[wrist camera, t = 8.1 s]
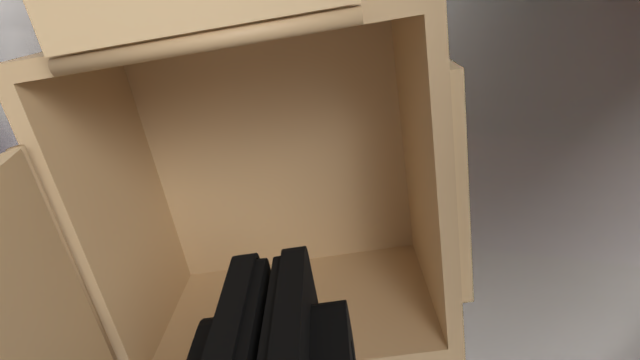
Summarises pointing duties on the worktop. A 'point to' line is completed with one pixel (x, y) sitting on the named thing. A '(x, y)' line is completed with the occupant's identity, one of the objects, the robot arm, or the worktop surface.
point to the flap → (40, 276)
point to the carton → (264, 178)
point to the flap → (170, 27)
